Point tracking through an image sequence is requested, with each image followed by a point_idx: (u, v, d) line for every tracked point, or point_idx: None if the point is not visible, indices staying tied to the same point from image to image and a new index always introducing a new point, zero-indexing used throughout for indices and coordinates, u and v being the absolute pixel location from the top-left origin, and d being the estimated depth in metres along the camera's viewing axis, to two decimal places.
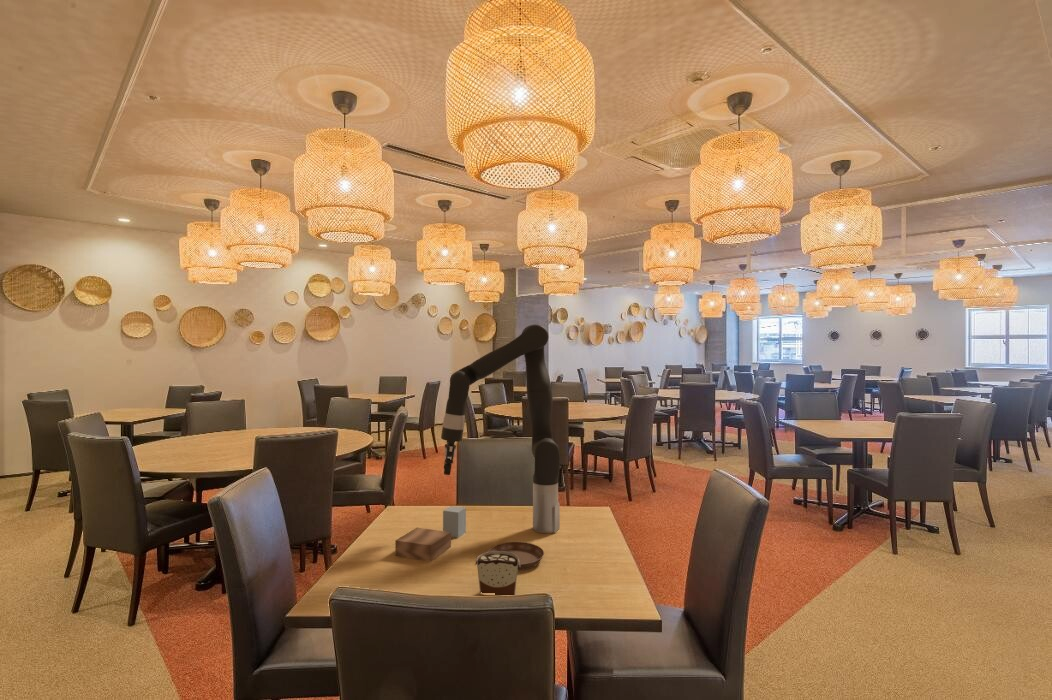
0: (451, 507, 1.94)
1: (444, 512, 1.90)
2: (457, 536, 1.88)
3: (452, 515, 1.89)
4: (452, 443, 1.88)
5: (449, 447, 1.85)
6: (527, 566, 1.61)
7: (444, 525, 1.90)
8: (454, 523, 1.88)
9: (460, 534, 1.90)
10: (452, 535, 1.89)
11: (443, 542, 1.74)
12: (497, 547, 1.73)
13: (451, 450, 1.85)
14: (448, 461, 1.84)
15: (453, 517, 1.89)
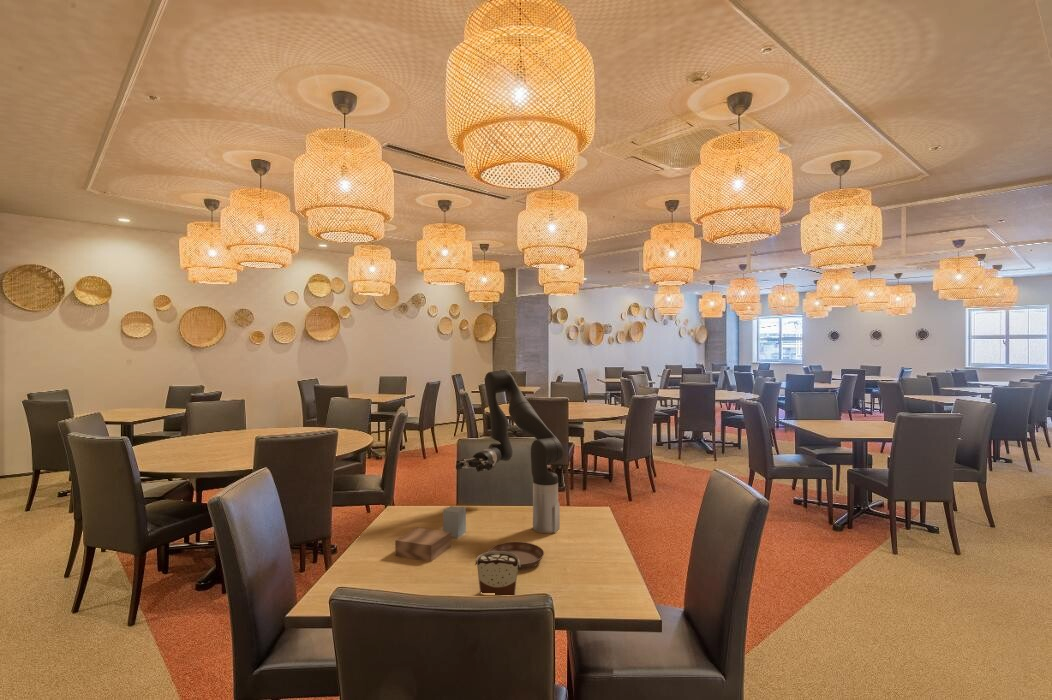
0: (451, 507, 1.94)
1: (444, 512, 1.90)
2: (457, 536, 1.88)
3: (452, 515, 1.89)
4: None
5: None
6: (527, 566, 1.61)
7: (444, 525, 1.90)
8: (454, 523, 1.88)
9: (460, 534, 1.90)
10: (452, 535, 1.89)
11: (443, 542, 1.74)
12: (497, 547, 1.73)
13: None
14: None
15: (453, 517, 1.89)
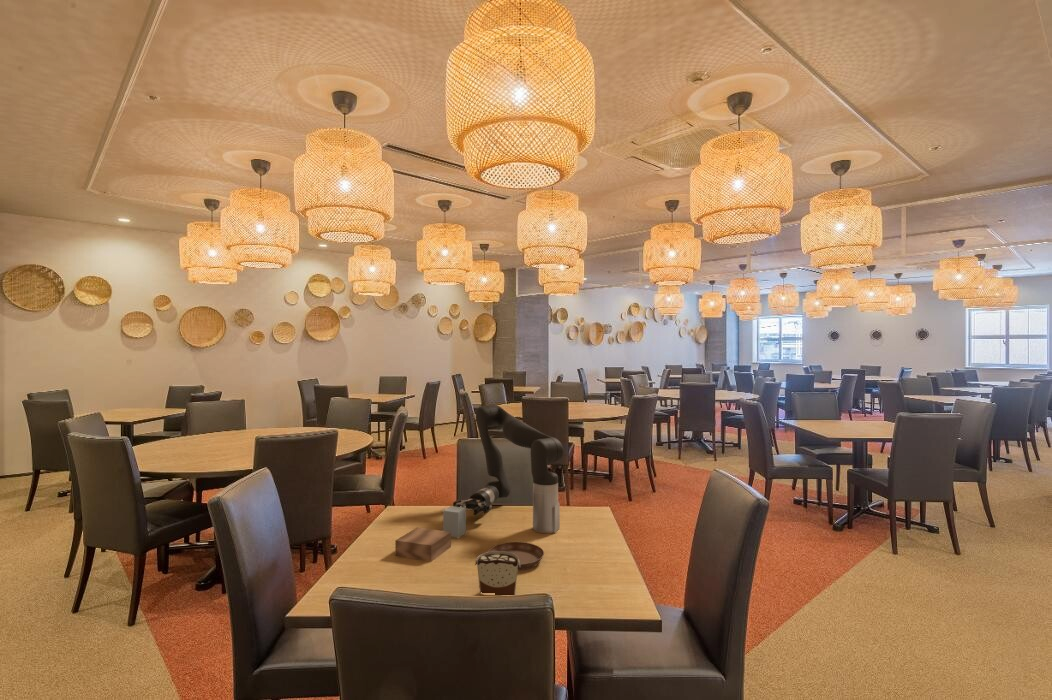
0: (451, 507, 1.94)
1: (444, 512, 1.90)
2: (457, 536, 1.88)
3: (452, 515, 1.89)
4: None
5: None
6: (527, 566, 1.61)
7: (444, 525, 1.90)
8: (454, 523, 1.88)
9: (460, 534, 1.90)
10: (452, 535, 1.89)
11: (443, 542, 1.74)
12: (497, 547, 1.73)
13: None
14: None
15: (453, 517, 1.89)
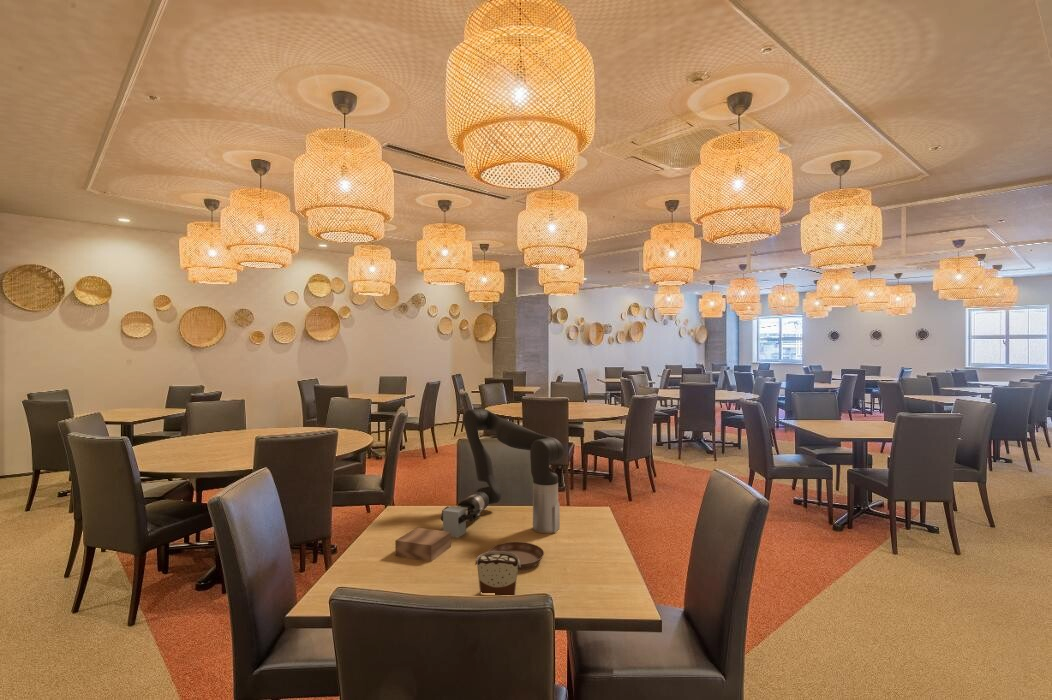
0: (451, 507, 1.94)
1: (444, 512, 1.90)
2: (457, 536, 1.88)
3: (452, 515, 1.89)
4: None
5: None
6: (527, 566, 1.61)
7: (444, 525, 1.90)
8: (454, 523, 1.88)
9: (460, 534, 1.90)
10: (452, 535, 1.89)
11: (443, 542, 1.74)
12: (497, 547, 1.73)
13: None
14: None
15: (453, 517, 1.89)
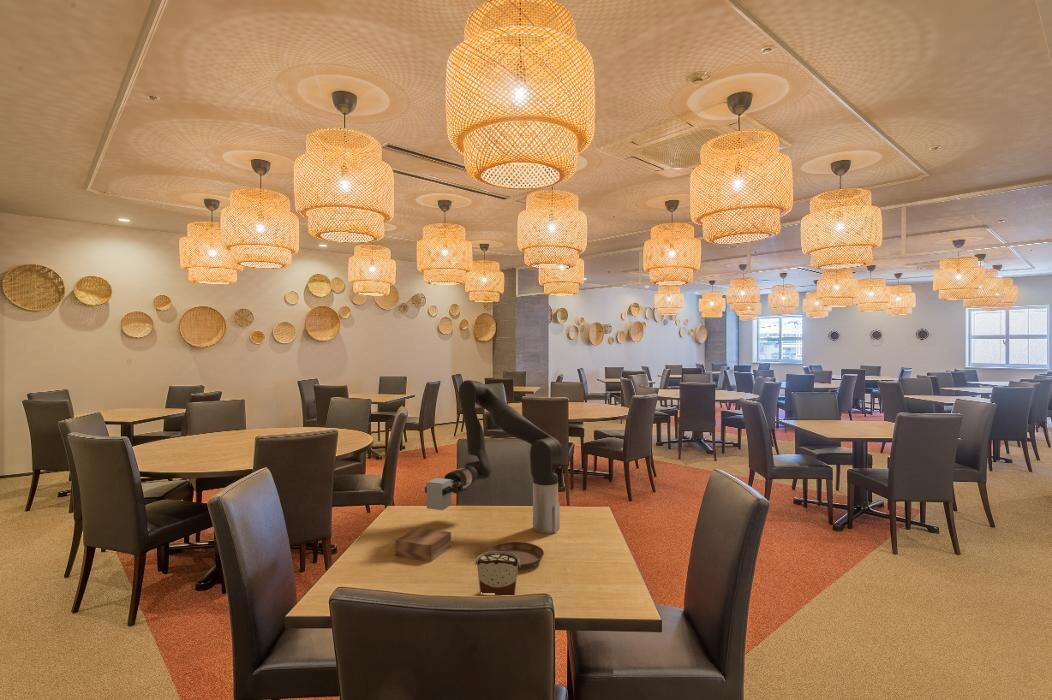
0: (436, 479, 1.86)
1: (428, 483, 1.82)
2: (441, 508, 1.81)
3: (436, 486, 1.81)
4: None
5: None
6: (527, 566, 1.61)
7: (428, 497, 1.82)
8: (438, 495, 1.81)
9: (444, 506, 1.82)
10: (436, 507, 1.81)
11: (443, 542, 1.74)
12: (497, 547, 1.73)
13: None
14: None
15: (437, 489, 1.81)
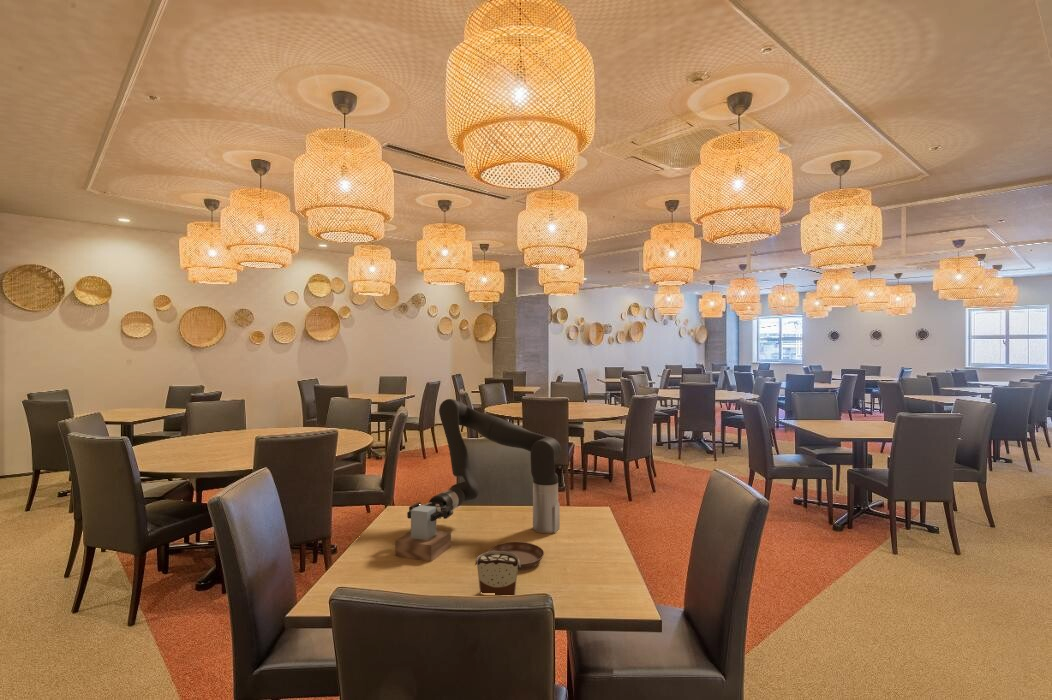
0: (420, 506, 1.77)
1: (412, 512, 1.73)
2: (426, 538, 1.72)
3: (421, 515, 1.72)
4: None
5: None
6: (527, 566, 1.61)
7: (412, 526, 1.73)
8: (423, 524, 1.72)
9: (429, 536, 1.73)
10: (421, 537, 1.72)
11: (443, 542, 1.74)
12: (497, 547, 1.73)
13: None
14: None
15: (421, 517, 1.72)
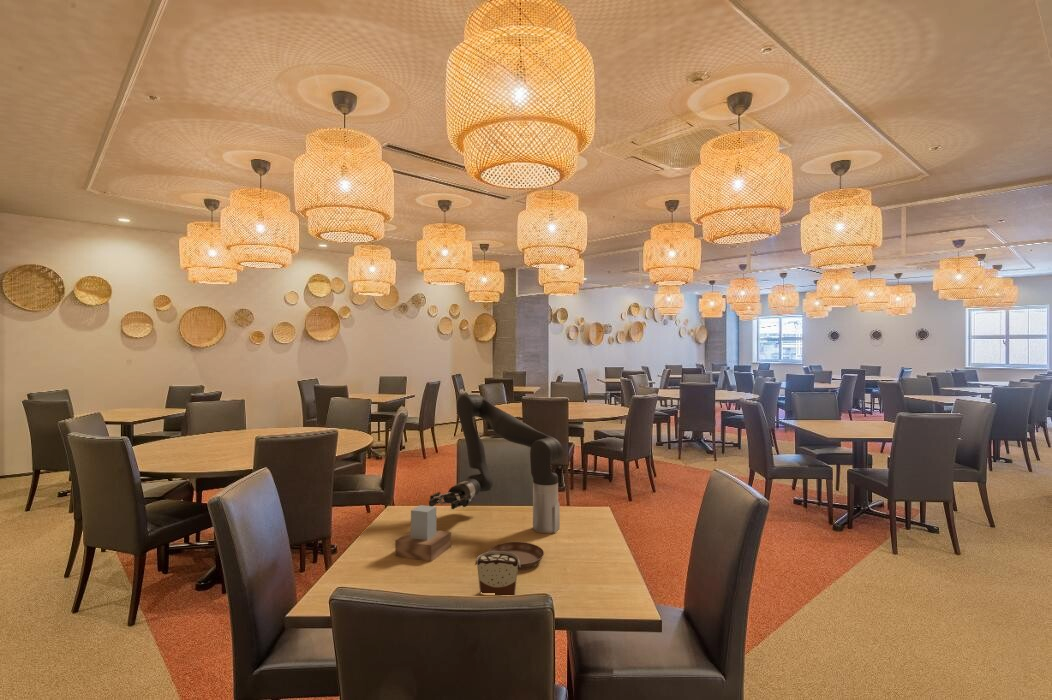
0: (420, 506, 1.77)
1: (412, 512, 1.73)
2: (426, 538, 1.72)
3: (421, 515, 1.72)
4: None
5: None
6: (527, 566, 1.61)
7: (412, 526, 1.73)
8: (423, 524, 1.72)
9: (429, 536, 1.73)
10: (421, 537, 1.72)
11: (443, 542, 1.74)
12: (497, 547, 1.73)
13: None
14: None
15: (421, 517, 1.72)
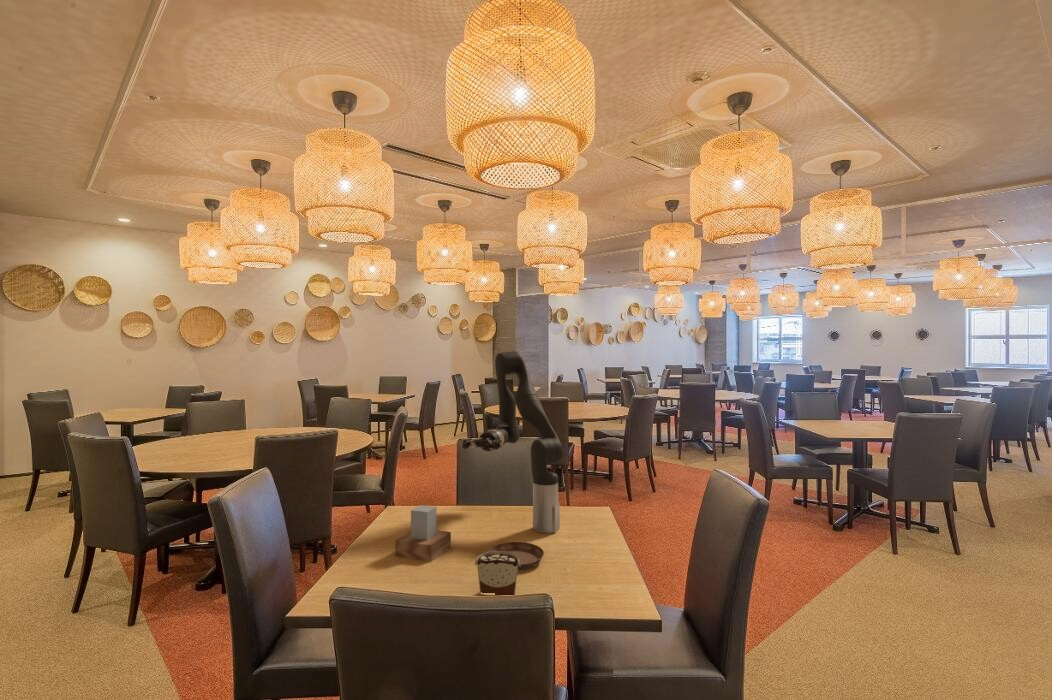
0: (420, 506, 1.77)
1: (412, 512, 1.73)
2: (426, 538, 1.72)
3: (421, 515, 1.72)
4: None
5: None
6: (527, 566, 1.61)
7: (412, 526, 1.73)
8: (423, 524, 1.72)
9: (429, 536, 1.73)
10: (421, 537, 1.72)
11: (443, 542, 1.74)
12: (497, 547, 1.73)
13: None
14: None
15: (421, 517, 1.72)
